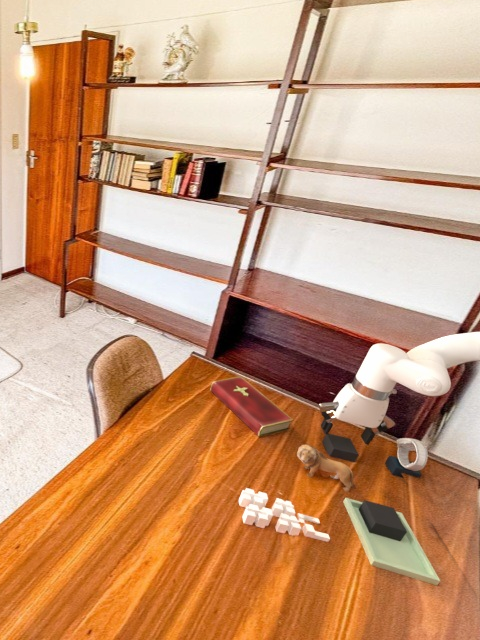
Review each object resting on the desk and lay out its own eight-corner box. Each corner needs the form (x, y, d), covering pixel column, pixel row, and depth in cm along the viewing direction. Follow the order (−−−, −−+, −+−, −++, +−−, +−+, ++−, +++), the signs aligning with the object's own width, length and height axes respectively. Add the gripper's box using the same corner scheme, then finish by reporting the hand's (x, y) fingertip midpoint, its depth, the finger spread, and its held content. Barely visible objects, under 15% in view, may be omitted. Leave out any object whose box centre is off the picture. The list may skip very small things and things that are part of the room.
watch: (405, 464, 110) (424, 435, 105) (419, 488, 103) (440, 458, 98) (381, 458, 112) (398, 429, 107) (393, 481, 105) (412, 451, 100)
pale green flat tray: (398, 518, 95) (401, 512, 94) (436, 586, 82) (440, 581, 81) (342, 502, 98) (345, 497, 97) (370, 566, 85) (373, 560, 84)
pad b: (345, 447, 115) (350, 438, 113) (354, 463, 109) (359, 454, 108) (321, 441, 116) (326, 432, 115) (329, 457, 111) (333, 448, 109)
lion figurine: (291, 476, 105) (303, 452, 101) (287, 461, 109) (298, 437, 105) (357, 496, 100) (372, 472, 96) (350, 479, 105) (364, 455, 101)
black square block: (387, 517, 95) (394, 507, 93) (400, 541, 89) (407, 531, 88) (358, 509, 96) (364, 499, 95) (369, 532, 91) (375, 522, 90)
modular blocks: (243, 523, 92) (248, 512, 91) (237, 497, 98) (241, 486, 97) (339, 548, 88) (346, 537, 86) (326, 519, 94) (332, 508, 92)
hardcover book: (258, 437, 117) (262, 426, 115) (209, 390, 135) (212, 380, 133) (289, 429, 120) (293, 419, 118) (237, 385, 138) (241, 375, 136)
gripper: (402, 387, 104) (374, 434, 111) (327, 371, 108) (305, 417, 116) (418, 406, 97) (387, 455, 105) (337, 388, 102) (313, 436, 109)
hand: (344, 435), depth 110 cm, fingers open, 9 cm apart
